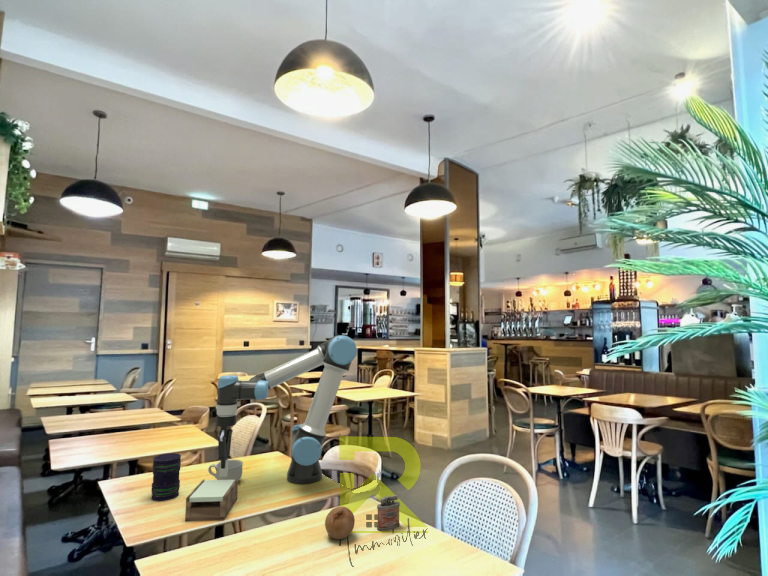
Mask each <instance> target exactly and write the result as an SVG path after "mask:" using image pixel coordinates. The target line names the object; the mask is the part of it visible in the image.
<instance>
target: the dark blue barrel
mask: <svg viewBox="0 0 768 576" xmlns="http://www.w3.org/2000/svg"><path fill="white" fill-rule="evenodd" d="M181 456H182V455H181V454H179V453H172V452H171V453H163V454H159V455H156V456H154V457H153V462H152V471H151V472H152V474H153V475H152V483H151V500H152V501H154V502H167V501H171V500H174V499H176V498H178V497H179V495H180V492H179V491H180V488H181V485H180V483H181V480H180V471H181V466H182V465H181V464H182V461H181Z"/></svg>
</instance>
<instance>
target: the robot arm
mask: <svg viewBox="0 0 768 576" xmlns="http://www.w3.org/2000/svg"><path fill="white" fill-rule="evenodd" d="M357 351H358V350H357V344H356V342H355V341H354V340H353V339H352V338H351V337H349V336H347V335H342V334H339V335H335V336H332V337H331V338H329V339H328V340H326V341H324V342H323V343H321V344H318V345H317V347H316V348H315V349H313V350H311V351H308V352H306V353H305V354H302V355H299V356H298V357H296V358H293V359H291V360H289V361H287V362H284V363H282V364H280V365H278V366H276V367H273V368H271V369H269V370H267V371H265V372H263V373H260V374H258V375H254V376H253V377H251V378H249V379H248V380H239V377H238V376H237V375H229V374H228V375H221V376H219V378H218V384H217V397H216V399H217V401H216V404H217V405H216V406H215V409H216V418H215V425H216V426H217V427H220V430H219V431H218V435H219V436H217V442H218V443H217V444H218V447H217V448H218V458H217V461H219V462H220V474H219V477H227V473H228V460H229V459H230V458H231V457H232V456H231V446H232V438H233V437H232V435H233V432H234V431H233V428H232V427H233V426H235V425H236V423H237V411H238V409H237V407H238V400H239V401H241V400H248V401H249V400H253V401H255V400H257V401H261V400H266V399H267V398H268V396H269V390H270V389H273V388H275V387H277V386H279V385H281V384H284V383H285V382H288V381H289V380H292V379H295V378H297V377H298V376H301V375H303V374H305V373H307V372H309V371H312V370H314V369H316V368H318V367H320V366H324V368H323V370H322V373H321V375H320V379H319V381H318V384H317V388H316V390H315V393H314V394H313V399H312V401H311V404H310V406H309V409H308V411H307V414H306V418H305V421H304V422H302V423H297V424H294V425H293V426H292V430H291V450H290V451H291V460H290V463H289V467H288V471H287V473H286V480H287V482H289V483H293V484H299V485H302V484H304V485H305V484H312V483H316V482H319V481H320V480H321V479H322V477H323V471H322V468H321V464H320V460H319V459H320V458H321V456H322V455H321V454H322V453H323V450H322V448H323V444H324V441H325V439H326V436H327V433H326V430H325V429H326V428H325V427H326V425H327V422H328V420H329V419H328V418H329V416H330V414H331V411H332V409H333V405H334V403H335V399H336V397H337V394H338V391H339V389H340V385H341V382H342V379H343V376H344V374H346V373H348V372H349V371H350V368H351V365H352V362H353V361H354V360H355V358H356V356H357V354H358V353H357Z"/></svg>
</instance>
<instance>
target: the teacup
mask: <svg viewBox="0 0 768 576" xmlns="http://www.w3.org/2000/svg"><path fill="white" fill-rule="evenodd" d="M243 465H244V462H243V461H242V460H240V459H228V473H227V477H219V474H220V461H219V462H218V463H216V464H215V463H212V464H210V465H208V468H207V469H208V473H209V474H210V475H211V476H212V477H214V479H215V480H236V479H238V481H240V479H241V478H242V475H243ZM212 468H214V469H215V471H216V472H213V471H212Z"/></svg>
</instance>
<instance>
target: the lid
mask: <svg viewBox="0 0 768 576" xmlns="http://www.w3.org/2000/svg"><path fill="white" fill-rule="evenodd" d="M234 482H235V480H217V479H204V482H203V483H202V484H201V485H200V486H199V488H198V489H197V490H196V491H195V492H194V493H193V494H192V495H191V496H190V497H189V502H212V501H223V500H224V496H225V494H226V493H227V492H228V490H229V489H230V487H231V486H232V485H233V483H234Z"/></svg>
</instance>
